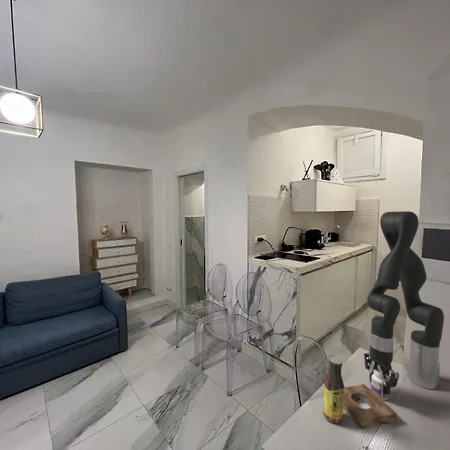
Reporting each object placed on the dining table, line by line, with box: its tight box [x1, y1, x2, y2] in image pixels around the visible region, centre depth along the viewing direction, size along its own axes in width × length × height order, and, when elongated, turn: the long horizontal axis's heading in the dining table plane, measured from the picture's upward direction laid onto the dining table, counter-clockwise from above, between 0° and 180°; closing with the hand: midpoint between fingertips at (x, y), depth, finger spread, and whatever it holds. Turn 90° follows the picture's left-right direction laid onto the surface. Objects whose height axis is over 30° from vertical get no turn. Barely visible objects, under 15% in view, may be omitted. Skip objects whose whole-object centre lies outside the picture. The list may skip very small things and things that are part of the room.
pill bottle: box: [370, 369, 389, 402], centre depth 92 cm, size 5×5×10 cm
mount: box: [343, 383, 398, 430], centre depth 86 cm, size 14×14×3 cm
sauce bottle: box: [322, 356, 345, 424], centre depth 81 cm, size 7×6×20 cm
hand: (379, 388), depth 92 cm, fingers closed on pill bottle, 5 cm apart
